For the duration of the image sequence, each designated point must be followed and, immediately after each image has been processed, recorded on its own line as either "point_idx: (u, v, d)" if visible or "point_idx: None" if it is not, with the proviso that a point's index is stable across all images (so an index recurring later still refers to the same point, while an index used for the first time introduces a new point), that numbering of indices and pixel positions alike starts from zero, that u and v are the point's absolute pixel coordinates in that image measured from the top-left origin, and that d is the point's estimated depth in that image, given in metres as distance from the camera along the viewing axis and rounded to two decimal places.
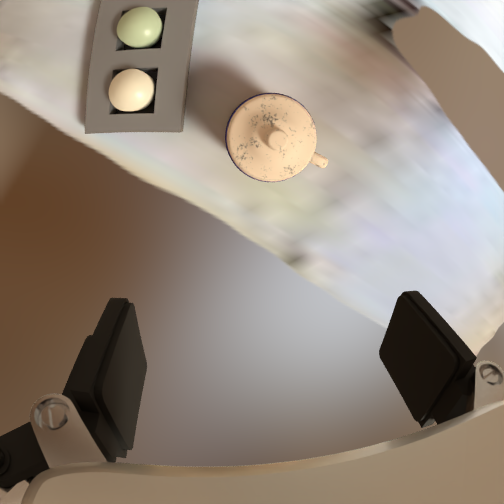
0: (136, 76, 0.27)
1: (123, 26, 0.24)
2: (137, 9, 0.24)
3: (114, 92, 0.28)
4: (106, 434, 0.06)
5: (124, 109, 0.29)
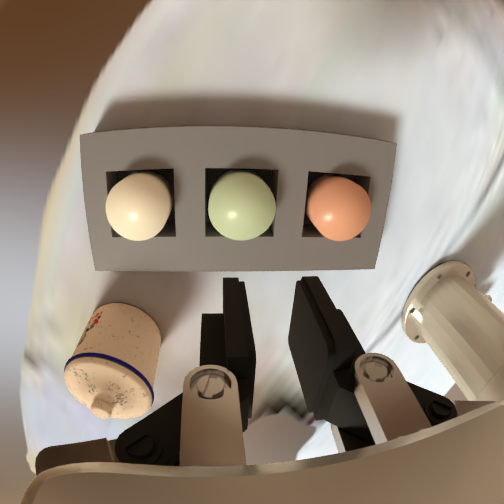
0: (155, 218, 0.22)
1: (243, 186, 0.22)
2: (271, 204, 0.23)
3: (131, 187, 0.21)
4: None
5: (107, 206, 0.21)
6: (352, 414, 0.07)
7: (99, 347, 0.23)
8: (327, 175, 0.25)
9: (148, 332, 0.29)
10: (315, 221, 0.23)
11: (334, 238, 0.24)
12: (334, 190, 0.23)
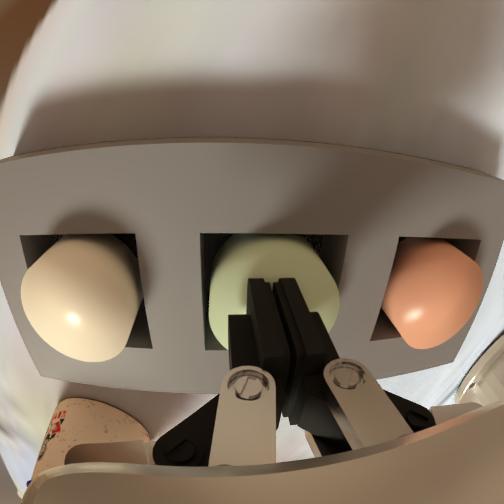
0: (108, 332, 0.11)
1: (280, 275, 0.11)
2: (332, 304, 0.11)
3: (54, 276, 0.09)
4: None
5: (25, 304, 0.10)
6: (323, 421, 0.07)
7: None
8: (419, 237, 0.13)
9: None
10: (403, 327, 0.12)
11: (423, 346, 0.13)
12: (442, 275, 0.11)
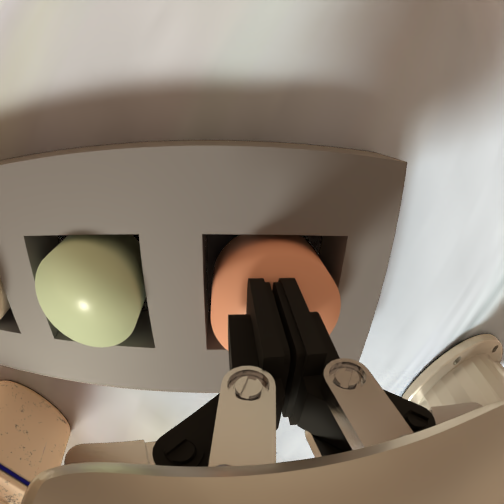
0: None
1: (73, 266, 0.10)
2: (127, 297, 0.11)
3: None
4: None
5: None
6: (323, 422, 0.07)
7: None
8: None
9: (43, 425, 0.17)
10: (217, 335, 0.11)
11: None
12: None
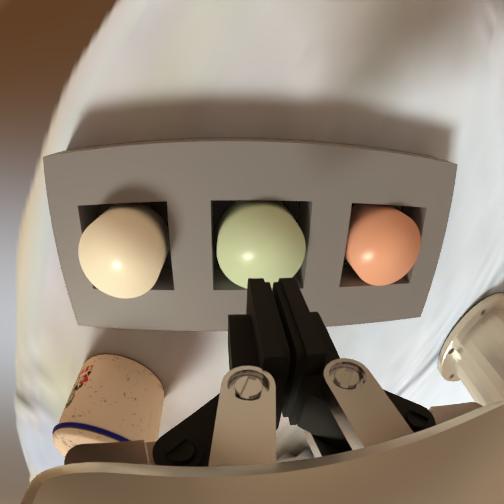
0: (144, 271, 0.16)
1: (262, 222, 0.16)
2: (300, 245, 0.17)
3: (109, 230, 0.15)
4: None
5: (81, 254, 0.15)
6: (323, 421, 0.07)
7: (89, 416, 0.17)
8: None
9: (148, 391, 0.23)
10: (354, 264, 0.18)
11: (375, 283, 0.19)
12: (379, 224, 0.17)
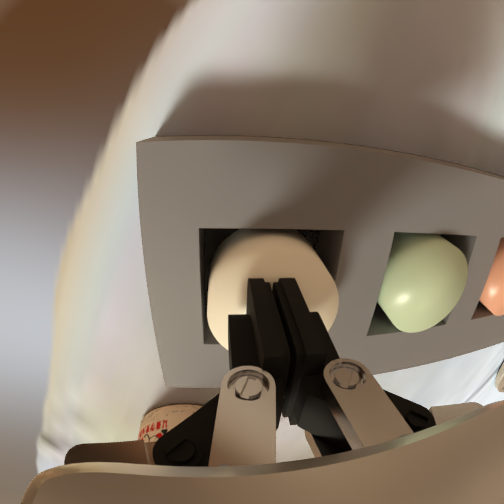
0: None
1: (441, 260, 0.12)
2: (462, 283, 0.13)
3: (272, 272, 0.10)
4: None
5: (212, 306, 0.11)
6: (323, 421, 0.07)
7: None
8: None
9: None
10: (491, 297, 0.14)
11: (498, 313, 0.15)
12: None
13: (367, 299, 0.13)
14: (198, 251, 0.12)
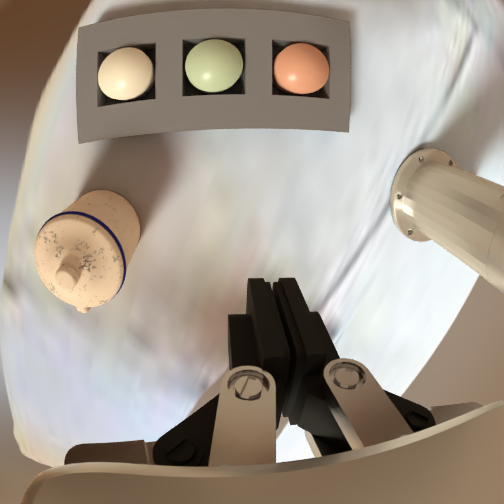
0: (140, 77, 0.22)
1: (214, 47, 0.22)
2: (239, 60, 0.23)
3: (121, 55, 0.21)
4: None
5: (100, 73, 0.21)
6: (323, 421, 0.07)
7: (73, 210, 0.22)
8: None
9: (126, 211, 0.28)
10: (279, 74, 0.24)
11: (298, 90, 0.24)
12: (292, 49, 0.23)
13: (175, 73, 0.23)
14: (97, 60, 0.21)
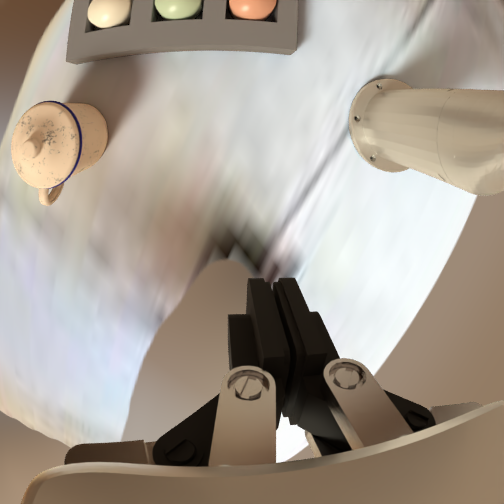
0: (119, 9, 0.22)
1: None
2: None
3: None
4: None
5: (89, 8, 0.21)
6: (323, 421, 0.07)
7: None
8: None
9: (95, 116, 0.28)
10: (231, 3, 0.24)
11: (247, 14, 0.24)
12: None
13: (147, 6, 0.23)
14: (89, 0, 0.21)
